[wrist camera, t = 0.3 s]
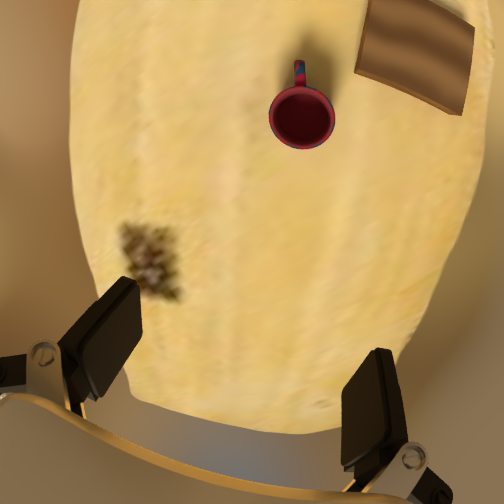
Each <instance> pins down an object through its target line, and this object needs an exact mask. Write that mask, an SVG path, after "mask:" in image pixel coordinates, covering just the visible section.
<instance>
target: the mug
mask: <svg viewBox="0 0 504 504" xmlns="http://www.w3.org/2000/svg"><path fill="white" fill-rule="evenodd" d="M294 69H295V87H291V88H288V89H286V90H284V91H282V92H281V93H279V94H278V95H277V96H276V97H275V99H274V100H273V102H272V104H271V106H270V110H269V123H270V126H271V129H272V131H273V133H274V134H275V136H276V137H277V138H278V139H279V140H280V141H281V142H283V143H284V144H286V145H288V146H290V147H292V148H296V149H311V148H314V147H317V146H319V145H321V144H322V143H324V142H325V141H326V140H327V139H328V138H329V136H330V135H331V133H332V131H333V129H334V125H335V112H334V109H333V106H332V104H331V103H330V101H329V100H328V98H327V97H326V96H325V95H323V94H322V93H321V92H319V91H318V90H316V89H313V88H310V87H307V86H306V77H305V62H304V61H303V60H296V61H295V62H294Z"/></svg>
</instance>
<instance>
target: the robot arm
mask: <svg viewBox="0 0 504 504" xmlns="http://www.w3.org/2000/svg"><path fill="white" fill-rule="evenodd" d="M142 333H143V330H142V317H141V302H140V287H139V285H137V282H136V280H133V279H131V278H128V277H125V276H122V277H120V278H119V279H118V280H117V281H116V282H115V283H114V284H113V285H112V286H111V287H110V288H109V289H108V290H107V292H106V293H105V294H104V295H103V296H102V297H101V298H100V299H99V300H98V301H95V302H94V303H93V304H92V305H91V306H90V307H89V308H88V310H87V311H86V312H85V313H84V314H83V315H82V316H81V317H80V318H79V319H78V321H76V323H75V324H74V325H73V326H72V327H71V328H70V329H69V330H68V332H67V333H66V334H65V335H64V336H63V337H62V338H61V340H60V341H59V342H58V343H55V342H54V341H52V340H49V339H42V340H38V341H36V342H34V343H33V344H32V345H31V346H30V347H29V349H28V351H27V354H22V355H15V356H9V357H1V358H0V504H452V500H453V493H452V490H451V488H450V487H449V486H448V485H447V484H446V483H445V482H444V481H443V480H441V479H440V478H439V477H438V476H437V475H436V474H435V473H434V472H433V471H431V470H430V469H429V468H428V467H427V465H428V460H429V457H428V453H427V451H426V449H425V448H424V446H422V445H421V444H420V443H418V442H408V434H407V427H406V420H405V413H404V408H403V401H402V396H401V390H400V386H399V384H398V379H397V374H396V369H395V364H394V360H393V355H392V352H391V350H389V349H384V348H378V347H377V348H376V349H375V350H372V351H370V353H369V354H368V356H367V357H366V358H365V360H364V361H363V363H362V364H361V365H360V367H359V368H358V370H357V371H356V372H355V374H354V375H353V376H352V378H351V379H350V380H349V382H348V383H347V384H346V385H345V387H344V388H343V390H342V395H341V402H342V438H341V439H342V440H341V464H342V466H344V472H354V479H353V480H352V481H351V483H350V484H349V485H348V486H347V487H346V488H345V489H344V490H343V491H342V492H334V491H333V492H332V491H319V490H306V489H297V488H288V487H280V486H274V485H267V484H262V483H257V482H251V481H247V480H242V479H238V478H233V477H229V476H225V475H221V474H217V473H214V472H210V471H207V470H203V469H200V468H197V467H193V466H190V465H187V464H184V463H181V462H179V461H176V460H173V459H170V458H167V457H165V456H162V455H160V454H157V453H155V452H152V451H150V450H147V449H145V448H142V447H140V446H138V445H136V444H133V443H131V442H129V441H127V440H125V439H123V438H121V437H119V436H116V435H115V434H113V433H111V432H109V431H107V430H105V429H103V428H100V427H99V426H97V425H95V424H93V423H91V422H89V421H88V420H86V415H85V411H84V405H83V402H84V401H85V399H86V398H87V397H88V398H90V399H92V400H94V401H95V402H96V401H97V399H98V398H99V397H103V396H104V395H105V393H106V391H107V390H108V388H109V386H110V385H111V383H112V382H113V380H114V379H115V377H116V376H117V374H118V373H119V371H120V370H121V368H122V366H123V365H124V363H125V362H126V360H127V359H128V357H129V356H130V354H131V353H132V351H133V350H134V348H135V347H136V345H137V344H138V342H139V341H140V339H141V337H142Z"/></svg>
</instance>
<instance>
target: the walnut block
mask: <svg viewBox="0 0 504 504" xmlns="http://www.w3.org/2000/svg"><path fill="white" fill-rule="evenodd" d="M474 32H475V27H473V26H472V25H470V24H469V23H467V22H466V21H464V20H462V19H461V18H459V17H457V16H456V15H454V14H452V13H451V12H449V11H447V10H445V9H443V8H442V7H440V6H438V5H436V4H434V3H432V2H430V1H428V0H369V2H368V8H367V13H366V18H365V23H364V28H363V33H362V38H361V43H360V48H359V52H358V57H357V61H356V66H355V70H354V73H355V74H358V75H361V76H364V77H367V78H370V79H372V80H375V81H378V82H380V83H383V84H386V85H388V86H391V87H393V88H395V89H398V90H400V91H402V92H405V93H407V94H409V95H411V96H414V97H416V98H418V99H420V100H422V101H424V102H426V103H428V104H430V105H432V106H434V107H436V108H438V109H440V110H442V111H444V112H446V113H447V114H449V115H458V116H462V112H463V108H464V103H465V98H466V93H467V88H468V82H469V76H470V70H471V63H472V54H473V45H474Z"/></svg>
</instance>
